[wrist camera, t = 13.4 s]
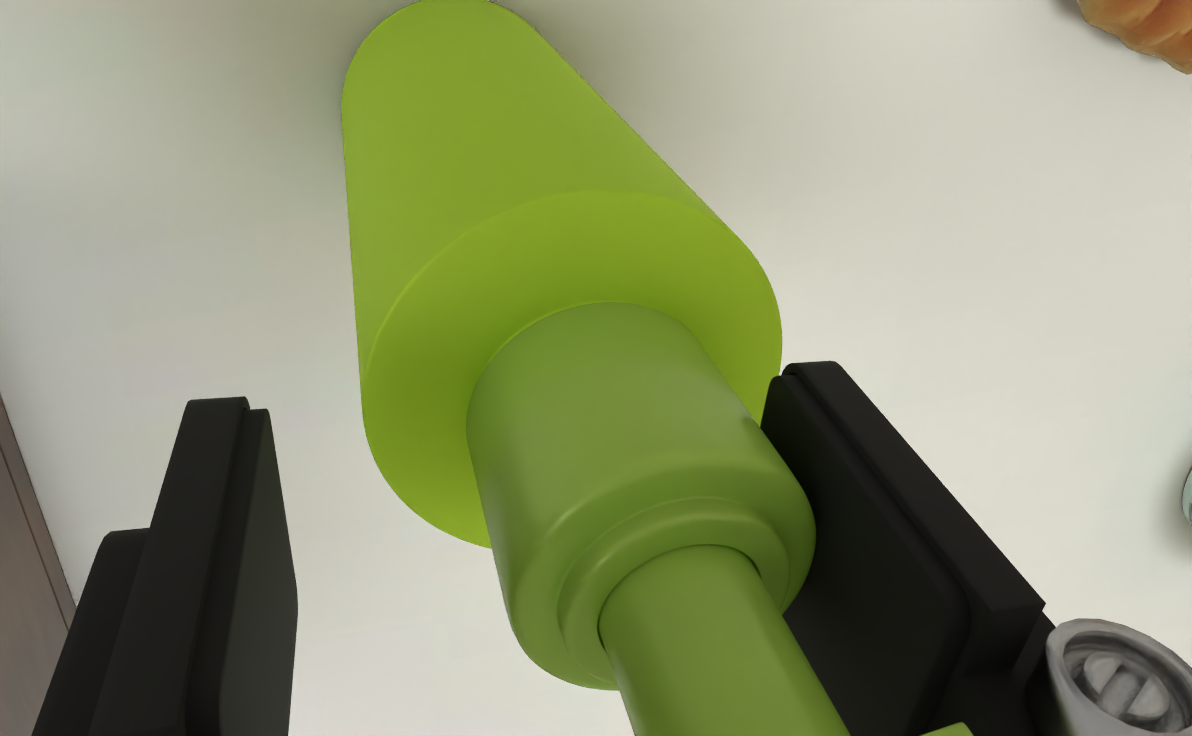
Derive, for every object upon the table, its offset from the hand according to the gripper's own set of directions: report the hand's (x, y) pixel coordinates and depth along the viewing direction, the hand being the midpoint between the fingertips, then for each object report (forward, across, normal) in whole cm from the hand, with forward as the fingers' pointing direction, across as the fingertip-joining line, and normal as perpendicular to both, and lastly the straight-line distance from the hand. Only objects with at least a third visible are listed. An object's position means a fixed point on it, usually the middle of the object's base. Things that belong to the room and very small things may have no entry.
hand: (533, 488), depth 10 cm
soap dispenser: (+15, 0, 0) cm, 15 cm away
